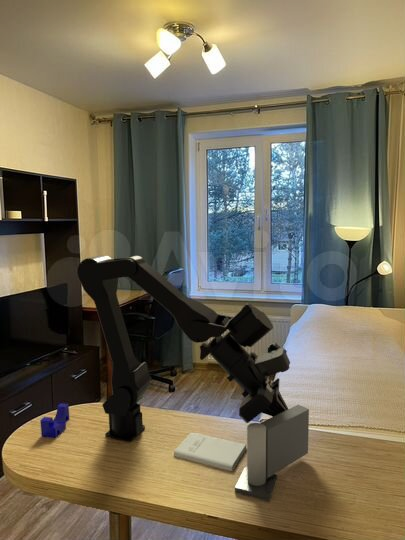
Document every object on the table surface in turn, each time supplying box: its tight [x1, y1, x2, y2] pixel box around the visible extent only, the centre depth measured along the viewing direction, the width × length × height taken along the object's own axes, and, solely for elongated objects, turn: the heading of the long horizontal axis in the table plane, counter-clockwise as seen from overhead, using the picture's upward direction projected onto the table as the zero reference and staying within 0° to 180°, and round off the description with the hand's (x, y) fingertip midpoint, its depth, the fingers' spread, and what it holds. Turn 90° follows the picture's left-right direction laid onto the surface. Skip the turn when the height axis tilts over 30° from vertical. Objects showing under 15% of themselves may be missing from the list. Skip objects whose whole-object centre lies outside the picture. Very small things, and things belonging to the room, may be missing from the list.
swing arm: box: [246, 404, 310, 486], centre depth 75 cm, size 3×15×10 cm, turn 129°
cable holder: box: [39, 403, 70, 439], centre depth 92 cm, size 8×4×4 cm, turn 167°
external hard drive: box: [173, 432, 247, 472], centre depth 82 cm, size 2×8×12 cm
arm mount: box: [234, 466, 278, 502], centre depth 72 cm, size 6×6×1 cm
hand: (291, 420), depth 79 cm, fingers closed
